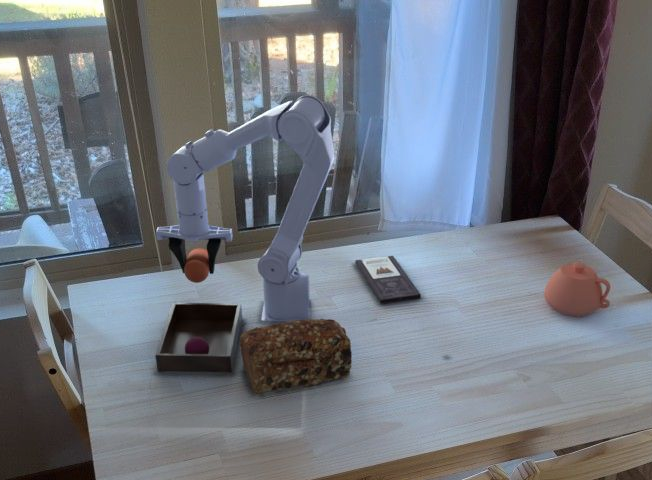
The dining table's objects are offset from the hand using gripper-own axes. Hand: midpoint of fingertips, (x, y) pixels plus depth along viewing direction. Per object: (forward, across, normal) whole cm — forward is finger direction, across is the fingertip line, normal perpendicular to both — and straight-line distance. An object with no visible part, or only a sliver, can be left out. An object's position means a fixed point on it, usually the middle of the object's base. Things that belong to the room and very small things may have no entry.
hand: (198, 271), depth 168 cm
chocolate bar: (+7, +39, +10) cm, 41 cm away
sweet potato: (+1, 0, 0) cm, 1 cm away
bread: (+7, +21, -25) cm, 34 cm away
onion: (+6, +2, -22) cm, 23 cm away
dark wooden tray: (+7, +2, -17) cm, 18 cm away
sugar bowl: (+7, +79, 0) cm, 79 cm away
